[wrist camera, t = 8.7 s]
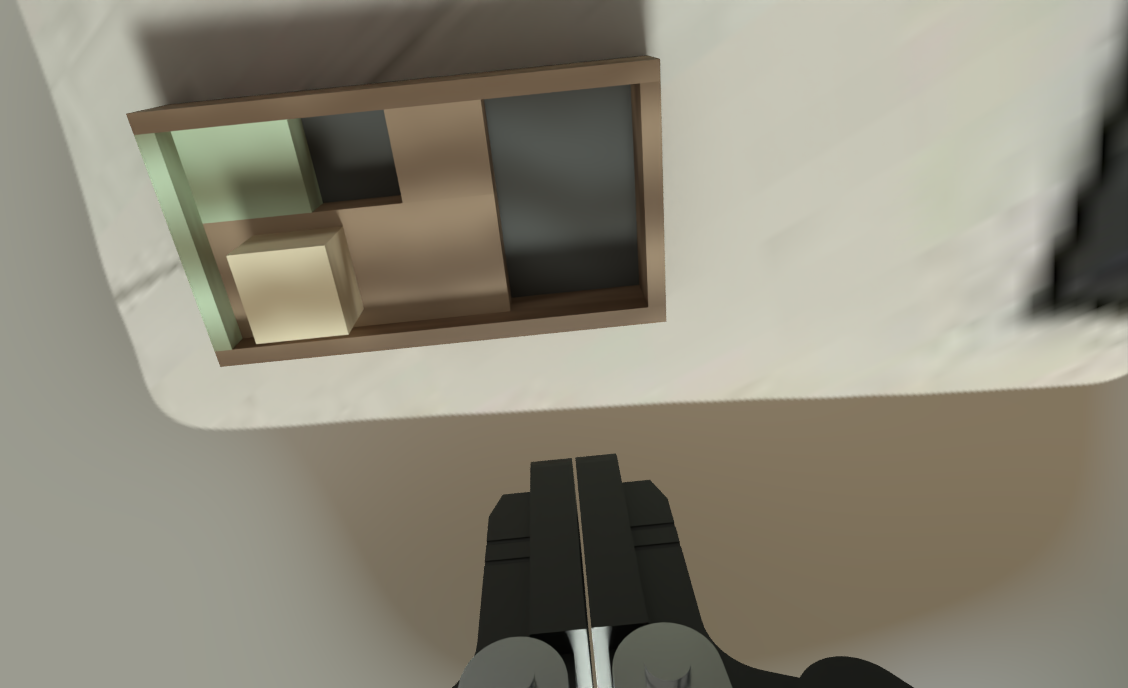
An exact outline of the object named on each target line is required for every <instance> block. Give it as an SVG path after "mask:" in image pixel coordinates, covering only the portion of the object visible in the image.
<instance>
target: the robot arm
mask: <svg viewBox="0 0 1128 688" xmlns="http://www.w3.org/2000/svg"><path fill="white" fill-rule="evenodd" d="M575 459H576V469H577V479H578V491H579V501H580V512H581V523H582V533H583V544H584V554H585V564H586V575H587V586H588V596H589V607H590V617H591V628H592V637H593V647H594V657H595V667H596V676H597V685H598V688H913V687H912V686H910V685H909V684H907V683H906V682H904V681H902V680H901V679H900V678H898V677H896V676H895V675H893V674H892V673H890V672H889V671H887V670H885V669H883V668H882V667H880V666H878V665H876V664H873V663H871V662H868V661H865V660H862V659H859V658H853V657H843V656H836V657H829V658H825V659H822V660H819V661H817V662H815V663H813V664H812V665H810V666H809V667H808V668H807V669H806V670H805V671H804V672H803V674H802V675H801V677H800V678H798V677H793V676H787V675H783V674H778V673H773V672H768V671H764V670H759V669H756V668H752V667H750V666H747V665H744V664H742V663H740V662H738V661H736V660H735V659H733V658H731V657H730V656H728V655H727V654H726V653H724V652H723V651H722V650H721V649H720V648H719V647H718V646H717V645H716V644H715V643H714V642H713V641H712V639H711V638H710V637H709V635H708V633H707V632H706V630H705V628H704V625H703V623H702V620H701V616H700V613H699V609H698V606H697V602H696V599H695V595H694V592H693V588H692V585H691V581H690V577H689V573H688V570H687V566H686V563H685V559H684V556H683V552H682V548H681V547H680V541H679V538H678V534H677V531H676V527H675V526H674V520H673V516H672V513H671V510H670V506H669V502H668V499H667V498H666V497H665V495H664V494H662V492H661V491H660V490H659V489H658V488H657V487H656V486H655V485H654V484H653V483H652V482H651V481H650V480H644V481H634V482H624V483H622V481H621V475H620V470H619V466H618V460H617V455H616V454H607V455H596V456H586V457H576V458H575ZM530 473H531V475H530V476H531V477H530V492H525V493H515V494H505V495H502V497H501V499H500V500H499V502H498V503H497V505H496V506H495V508H494V509H493V511H492V513H491V514H490V516H489V522H488V532H487V546H486V554H485V566H484V576H483V587H482V598H481V609H480V620H479V631H478V642H477V648H476V653H475V656H474V658H472V660H470V662H469V663H468V665H467V666H466V668H465V669H464V671H463V674H462V676H461V678H460V680H459V681H458V683H457V684H456V685H455V686H453V687H452V688H594V686H593V675H592V664H591V652H590V641H589V631H588V619H587V608H586V597H585V586H584V574H583V564H582V553H581V542H580V532H579V522H578V513H577V503H576V494H575V484H574V476H573V466H572V458H568V459H558V460H548V461H538V462H531V468H530Z"/></svg>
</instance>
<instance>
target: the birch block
mask: <svg viewBox="0 0 1128 688" xmlns="http://www.w3.org/2000/svg"><path fill="white" fill-rule="evenodd" d="M226 257H227V260H228V263H229V266H230V269H231V272H232V274H233V277H234V280H235V283H236V286H237V289H238V292H239V295H240V298H241V301H242V304H243V307H244V310H245V312H246V315H247V318H248V321H249V324H250V327H251V330H252V333H253V336H254V339H255V342H256V344H262V343H272V342H281V341H291V340H301V339H310V338H320V337H329V336H339V335H349V333H350V331H351V330H352V328H353V326H354V325H355V323H356V321H357V319H358V318H359V316H360V314H361V313H362V311H363V309H364V308H363V304H362V300H361V296H360V292H359V288H358V284H357V280H356V276H355V272H354V268H353V264H352V260H351V256H350V252H349V248H348V244H347V241H346V237H345V233H344V229H343V226H339V227H330V228H320V229H311V230H301V231H291V232H282V233H272V234H263V235H253V236H252V237H250V238H249V239H248V240H246V241H245V242H244V243H242V244H241V245H240V246H238V247H237V248H236V249H234V250H233V251H232V252H230V253H229V254H228V255H226Z"/></svg>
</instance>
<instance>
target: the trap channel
mask: <svg viewBox="0 0 1128 688" xmlns="http://www.w3.org/2000/svg"><path fill="white" fill-rule="evenodd" d="M126 115H127V118H128V120H129V123H130V126H131V128H132V131H133V134H134V136H135V139H136V142H137V144H138V147H139V150H140V152H141V155H142V158H143V160H144V163H145V166H146V168H147V171H148V174H149V177H150V179H151V182H152V185H153V187H154V190H155V193H156V195H157V198H158V201H159V203H160V206H161V209H162V211H163V214H164V217H165V219H166V222H167V225H168V227H169V230H170V233H171V235H172V238H173V241H174V244H175V246H176V249H177V252H178V254H179V257H180V260H181V262H182V265H183V268H184V270H185V273H186V276H187V278H188V281H189V284H190V286H191V289H192V292H193V294H194V297H195V300H196V302H197V305H198V308H199V311H200V313H201V316H202V319H203V321H204V324H205V327H206V329H207V332H208V335H209V337H210V340H211V343H212V345H213V348H214V351H215V353H216V356H217V359H218V361H219V364H220V367H223V366H233V365H243V364H253V363H263V362H272V361H282V360H292V359H302V358H312V357H322V356H331V355H341V354H351V353H361V352H371V351H381V350H391V349H400V348H410V347H420V346H430V345H440V344H450V343H459V342H469V341H479V340H489V339H499V338H509V337H519V336H528V335H538V334H548V333H558V332H568V331H578V330H587V329H597V328H607V327H617V326H627V325H637V324H647V323H656V322H666V292H665V251H664V209H663V167H662V126H661V84H660V59H658V58H654V57H651V56H637V57H627V58H617V59H608V60H598V61H588V62H579V63H569V64H559V65H549V66H540V67H530V68H520V69H510V70H501V71H491V72H481V73H471V74H462V75H452V76H442V77H432V78H423V79H413V80H403V81H394V82H384V83H374V84H364V85H355V86H345V87H335V88H325V89H316V90H306V91H296V92H286V93H277V94H267V95H257V96H247V97H238V98H228V99H218V100H208V101H199V102H189V103H179V104H170V105H164V106H159V107H155V108H150V109H146V110H141V111H137V112H132V113H128V114H126ZM339 226H343V229H344V233H345V237H346V241H347V244H348V248H349V252H350V256H351V260H352V264H353V268H354V272H355V276H356V280H357V284H358V288H359V292H360V296H361V300H362V304H363V308H364V309H363V311H362V313H361V314H360V316H359V318H358V319H357V321H356V323H355V325H354V326H353V328H352V330H351V331H350V333H349V335H339V336H329V337H320V338H310V339H301V340H291V341H281V342H272V343H262V344H256V342H255V339H254V336H253V333H252V330H251V327H250V324H249V321H248V318H247V315H246V312H245V310H244V307H243V304H242V301H241V298H240V295H239V292H238V289H237V286H236V283H235V280H234V277H233V274H232V272H231V269H230V266H229V263H228V260H227V257H226V255H228V254H229V253H230V252H232V251H233V250H234V249H236V248H237V247H238V246H240V245H241V244H242V243H244V242H245V241H246V240H248V239H249V238H250V237H252V236H253V235H263V234H272V233H282V232H291V231H301V230H311V229H320V228H330V227H339Z"/></svg>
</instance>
